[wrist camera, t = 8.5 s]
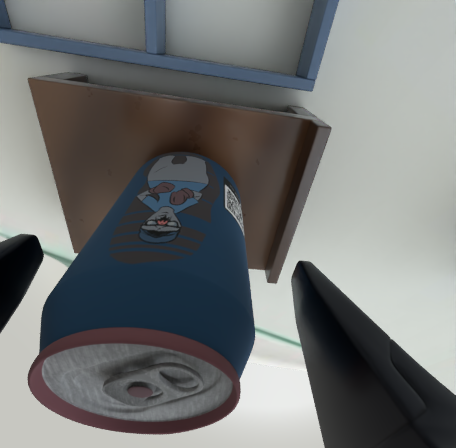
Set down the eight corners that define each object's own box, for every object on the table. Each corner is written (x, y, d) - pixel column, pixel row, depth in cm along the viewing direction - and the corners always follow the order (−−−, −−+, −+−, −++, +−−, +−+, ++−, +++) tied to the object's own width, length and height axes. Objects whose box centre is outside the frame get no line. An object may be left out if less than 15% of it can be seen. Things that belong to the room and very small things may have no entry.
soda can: (174, 249, 20) (124, 452, 10) (112, 175, 16) (-66, 376, 6) (256, 214, 18) (296, 416, 8) (206, 122, 14) (169, 283, 4)
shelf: (304, 107, 18) (332, 127, 13) (266, 240, 25) (276, 284, 20) (67, 72, 16) (7, 80, 12) (96, 223, 23) (64, 266, 19)
